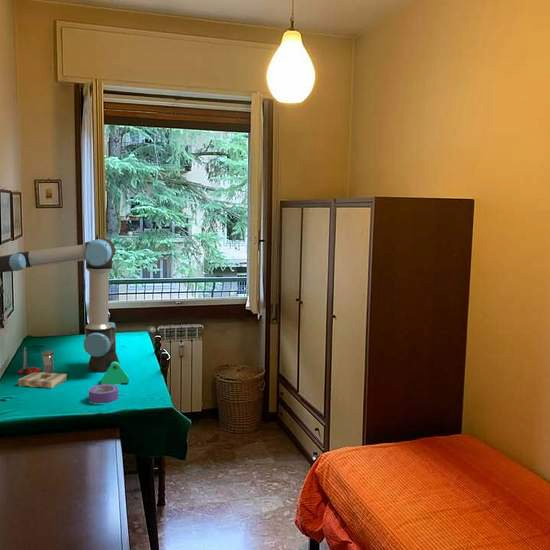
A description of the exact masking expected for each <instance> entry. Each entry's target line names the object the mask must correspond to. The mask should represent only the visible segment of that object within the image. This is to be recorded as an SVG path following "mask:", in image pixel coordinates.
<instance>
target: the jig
mask: <svg viewBox="0 0 550 550" xmlns="http://www.w3.org/2000/svg"><path fill="white" fill-rule="evenodd" d="M67 378H68V375H67V373H58V372H54V373H45V372H44V371H43V372H41V371H39V372H34V373H31V374H26V375H25V376H23V377H21V378H19V379H18V387H24V386H29V387H28V388H37V387H45V388H44V389H49V388H52V389H54V388H55V386H56V387H57V386H59V385H61V384H63V383H65V382H67V381H66V380H67ZM64 381H65V382H64ZM62 382H63V383H62ZM53 387H54V388H53Z"/></svg>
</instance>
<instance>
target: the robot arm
mask: <svg viewBox="0 0 550 550" xmlns="http://www.w3.org/2000/svg"><path fill="white" fill-rule="evenodd" d="M115 253H116V248H115V244H114V243H113V242H112V241H110V239H107V238H102V237H101V238H97V239H93V240H91V241H85V242H84V243H83V244H77V245H71V246H70V245H68V246H62V247H61V246H60V247H54V248H45V249H37V250H30V251H29V250H28V251H19V252H16V253H11V254H6V255H5V254H4V255H0V274H1V273H2V274H3V273H9V272H18V271H23V270H25V269H27V268H32V267H39V266H40V267H41V266H48V265H57V264H66V263H67V264H68V263H72V262H73V263H75V262H81V261H85V269H86V270H87V271H88V272H89V275H88V276H89V277H88V282H89V283H88V285H89V286H88V288H89V289H88V294H89V295H88V297H89V298H88V306H89V307H88V323H87V324H86V326H85V337H84V340H83V349H84V351H85V352H86V353H87V354H88V355H89V356H90V357H89V361H88V363H87V370H88V371H89V372H93V373H94V372H95V373H106V371H107V370H108V368H109V367H110V364H111V363H112V362H118V363H119V364H121V363H120V360H119V356H118V354H117V344H116V343H117V338H116V337H117V336H116V333H117V332H116V330H117V328H116V323H115V322H112V321H109V299H110V298H109V297H110V296H109V295H110V294H109V290H110V289H109V286H110V284H109V283H110V280H109V279H110V278H109V277H110V275H109V274H110V272H111V271H112V270H113V258H114V257H115V255H116V254H115ZM2 284H3V282H2V279H1V277H0V296H2V295H3V294H4V293H5V290H4V287H3V285H2ZM2 301H3V298H0V334H1V336H3V335H8V334H9V332H8V329H7V325H8V324H9V320H8V316H7V312H6V310H7V307H5V310H4V311H5V321H4V319H3V314H2V309H1V308H2ZM113 368H114V369H115V368H117V366H113Z"/></svg>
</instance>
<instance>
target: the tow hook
mask: <svg viewBox="0 0 550 550" xmlns="http://www.w3.org/2000/svg"><path fill="white" fill-rule="evenodd" d="M22 367H23V368H22V369H20V370H18V371H17V372H18V373H17V374H19V375H20V374H22V375H29V374H31V373H34V372H41V368H39V367H28V363H27V347H25V346H24V347H23V365H22Z"/></svg>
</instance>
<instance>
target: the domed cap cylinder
mask: <svg viewBox="0 0 550 550" xmlns="http://www.w3.org/2000/svg"><path fill="white" fill-rule="evenodd" d="M41 354H42V361H43V362H42V365H43V369H42V370H43V372H45V373H55V372H54V371H55V370H54V354H55V352H54V350H45V351H42V352H41Z"/></svg>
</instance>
